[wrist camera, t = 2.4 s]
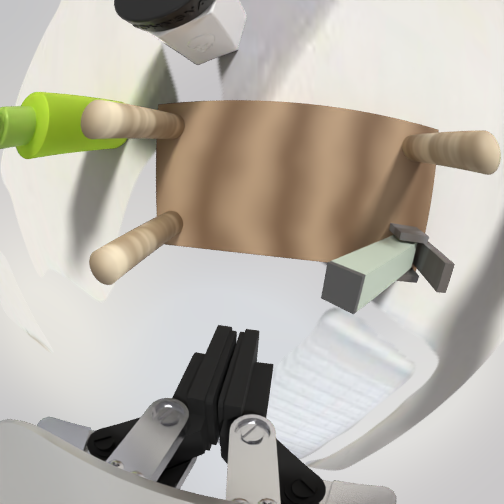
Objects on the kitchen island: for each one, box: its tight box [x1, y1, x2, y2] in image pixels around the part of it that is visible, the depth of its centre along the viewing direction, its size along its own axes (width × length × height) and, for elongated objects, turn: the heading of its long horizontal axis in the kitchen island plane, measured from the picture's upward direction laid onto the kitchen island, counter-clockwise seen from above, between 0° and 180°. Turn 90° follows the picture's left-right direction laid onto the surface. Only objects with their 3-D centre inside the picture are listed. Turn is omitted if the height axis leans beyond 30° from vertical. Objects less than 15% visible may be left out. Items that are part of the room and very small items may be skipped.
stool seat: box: [81, 100, 501, 293], centre depth 20 cm, size 28×15×14 cm, turn 87°
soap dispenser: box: [0, 92, 128, 159], centre depth 18 cm, size 6×7×20 cm
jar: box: [114, 0, 247, 65], centre depth 17 cm, size 9×8×12 cm
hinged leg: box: [321, 235, 417, 314], centre depth 21 cm, size 12×3×3 cm
